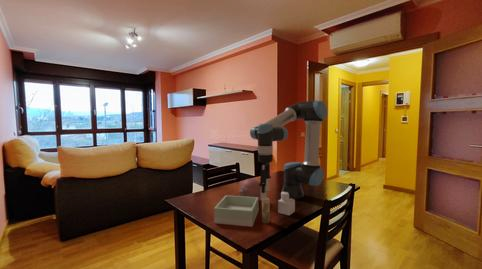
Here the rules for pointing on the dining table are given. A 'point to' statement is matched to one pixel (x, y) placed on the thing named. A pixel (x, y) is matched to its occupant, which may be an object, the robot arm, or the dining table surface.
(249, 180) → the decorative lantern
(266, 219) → the dowel
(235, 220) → the box
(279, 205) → the medicine bottle
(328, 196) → the dining table surface
